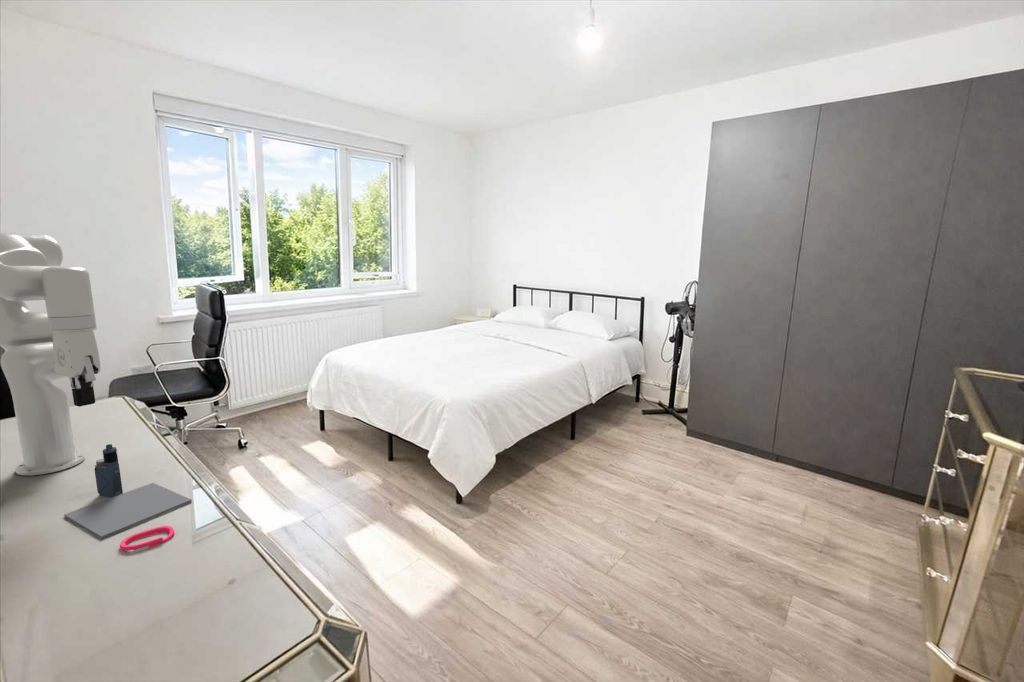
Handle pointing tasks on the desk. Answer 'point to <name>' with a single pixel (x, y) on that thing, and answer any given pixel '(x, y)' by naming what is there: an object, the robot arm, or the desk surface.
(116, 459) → the vaping device
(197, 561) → the desk surface
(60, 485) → the desk surface
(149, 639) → the desk surface
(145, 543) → the fitness band
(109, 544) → the desk surface
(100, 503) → the mat
